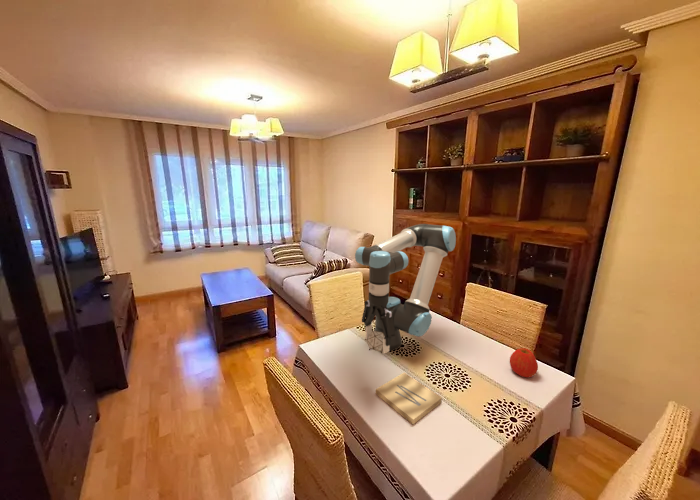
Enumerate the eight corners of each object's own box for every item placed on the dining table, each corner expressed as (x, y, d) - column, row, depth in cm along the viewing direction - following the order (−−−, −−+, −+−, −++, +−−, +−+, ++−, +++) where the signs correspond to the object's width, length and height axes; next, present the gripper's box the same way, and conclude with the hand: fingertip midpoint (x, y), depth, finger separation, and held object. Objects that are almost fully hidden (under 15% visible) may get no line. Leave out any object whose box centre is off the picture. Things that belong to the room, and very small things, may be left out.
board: (375, 393, 107) (375, 389, 107) (403, 376, 117) (404, 372, 116) (412, 424, 93) (413, 419, 93) (441, 402, 103) (441, 397, 102)
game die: (380, 356, 113) (395, 337, 112) (374, 361, 105) (391, 340, 104) (363, 340, 116) (378, 322, 115) (357, 343, 108) (373, 324, 107)
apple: (509, 361, 127) (513, 340, 124) (537, 370, 121) (541, 348, 118) (506, 373, 118) (510, 351, 116) (535, 383, 113) (540, 360, 110)
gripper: (353, 286, 112) (352, 336, 117) (392, 304, 95) (389, 363, 100) (367, 282, 116) (366, 331, 121) (407, 299, 99) (404, 356, 104)
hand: (377, 345), depth 111 cm, fingers closed on game die, 9 cm apart
